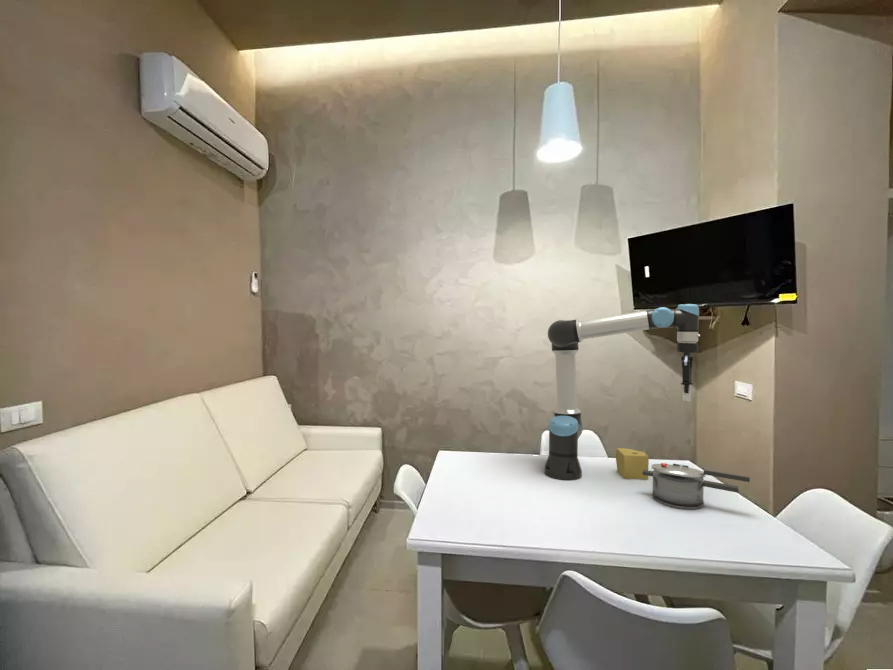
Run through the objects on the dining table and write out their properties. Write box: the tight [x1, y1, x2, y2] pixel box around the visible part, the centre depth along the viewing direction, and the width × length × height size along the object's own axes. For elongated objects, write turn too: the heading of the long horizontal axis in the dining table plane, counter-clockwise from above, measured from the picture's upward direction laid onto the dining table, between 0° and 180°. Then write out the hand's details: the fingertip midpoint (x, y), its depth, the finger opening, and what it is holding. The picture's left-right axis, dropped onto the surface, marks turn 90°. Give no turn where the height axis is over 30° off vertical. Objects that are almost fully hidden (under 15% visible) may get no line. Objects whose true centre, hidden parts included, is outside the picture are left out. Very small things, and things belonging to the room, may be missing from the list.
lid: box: [651, 462, 751, 483], centre depth 152 cm, size 30×18×2 cm, turn 56°
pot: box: [643, 469, 739, 511], centre depth 154 cm, size 29×18×9 cm, turn 56°
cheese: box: [615, 447, 650, 480], centre depth 181 cm, size 10×11×10 cm
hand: (686, 400), depth 175 cm, fingers closed
